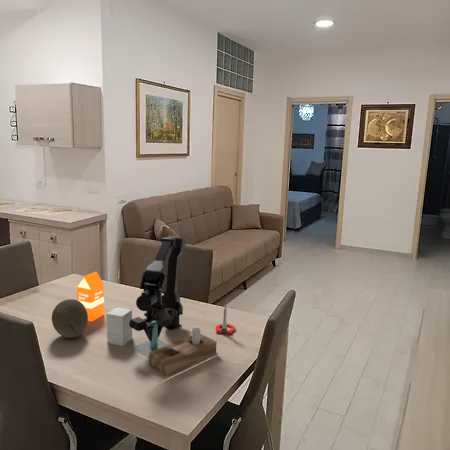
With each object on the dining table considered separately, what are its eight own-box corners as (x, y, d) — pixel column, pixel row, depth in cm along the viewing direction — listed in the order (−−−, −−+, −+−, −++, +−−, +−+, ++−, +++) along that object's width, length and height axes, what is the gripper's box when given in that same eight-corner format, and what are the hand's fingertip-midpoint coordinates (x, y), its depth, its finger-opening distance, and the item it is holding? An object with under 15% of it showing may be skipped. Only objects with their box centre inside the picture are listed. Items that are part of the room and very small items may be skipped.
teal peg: (148, 346, 164) (148, 322, 162) (154, 344, 166) (154, 320, 164) (152, 349, 162) (153, 324, 160) (159, 346, 164) (159, 322, 162)
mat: (131, 348, 164) (131, 347, 164) (156, 338, 172) (156, 337, 172) (150, 359, 156) (150, 358, 156) (175, 349, 164) (175, 348, 164)
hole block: (149, 365, 152) (149, 353, 151) (198, 344, 169) (198, 332, 168) (166, 377, 145) (167, 363, 144) (216, 353, 162) (216, 341, 161)
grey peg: (190, 354, 161) (190, 329, 159) (195, 351, 163) (196, 327, 161) (195, 357, 159) (196, 332, 157) (201, 354, 161) (201, 329, 159)
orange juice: (77, 318, 189) (76, 275, 185) (90, 311, 197) (89, 269, 193) (91, 321, 186) (90, 278, 182) (104, 314, 194) (103, 272, 190)
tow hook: (217, 325, 188) (213, 333, 179) (219, 297, 186) (215, 304, 177) (236, 327, 187) (233, 335, 178) (238, 299, 185) (235, 306, 176)
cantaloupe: (95, 331, 177) (94, 296, 174) (76, 346, 164) (75, 309, 161) (65, 326, 180) (63, 293, 177) (44, 341, 167) (42, 305, 164)
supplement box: (132, 339, 171) (132, 309, 169) (122, 347, 165) (122, 316, 162) (117, 335, 174) (116, 306, 171) (106, 343, 167) (105, 313, 164)
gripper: (146, 314, 148) (146, 355, 151) (186, 301, 162) (186, 339, 165) (128, 304, 156) (128, 344, 159) (168, 293, 169) (167, 329, 172)
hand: (153, 339), depth 163 cm, fingers closed on teal peg, 3 cm apart
